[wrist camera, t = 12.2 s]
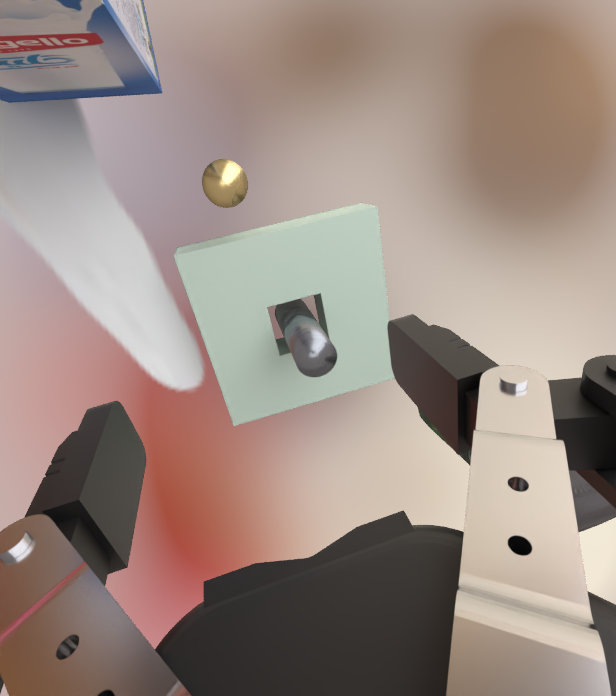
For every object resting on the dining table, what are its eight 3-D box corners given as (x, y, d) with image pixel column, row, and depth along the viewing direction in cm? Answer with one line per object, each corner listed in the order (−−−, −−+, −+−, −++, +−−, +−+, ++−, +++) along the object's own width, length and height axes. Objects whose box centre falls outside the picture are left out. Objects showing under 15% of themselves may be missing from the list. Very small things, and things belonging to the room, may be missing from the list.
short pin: (198, 165, 30) (195, 164, 25) (236, 156, 30) (241, 154, 26) (210, 205, 31) (210, 212, 27) (246, 197, 32) (252, 202, 27)
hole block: (177, 247, 32) (173, 255, 29) (362, 202, 34) (377, 206, 31) (232, 405, 39) (233, 426, 36) (381, 361, 41) (396, 377, 38)
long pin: (271, 301, 36) (291, 345, 27) (303, 293, 36) (333, 334, 27) (279, 330, 37) (300, 382, 28) (309, 322, 37) (340, 370, 28)
